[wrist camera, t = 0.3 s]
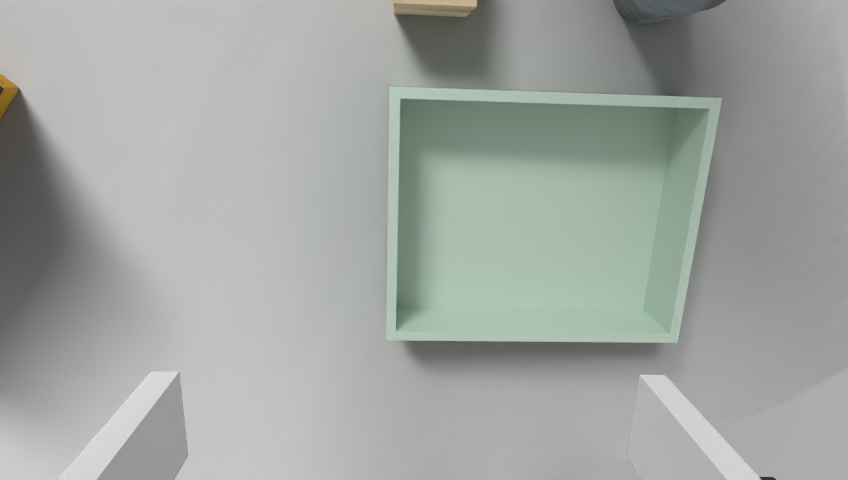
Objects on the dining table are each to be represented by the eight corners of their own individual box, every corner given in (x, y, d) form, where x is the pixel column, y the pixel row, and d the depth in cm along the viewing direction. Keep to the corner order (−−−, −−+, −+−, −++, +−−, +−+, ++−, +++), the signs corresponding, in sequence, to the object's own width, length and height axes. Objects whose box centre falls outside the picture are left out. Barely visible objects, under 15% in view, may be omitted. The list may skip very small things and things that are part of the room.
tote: (390, 86, 38) (389, 86, 33) (682, 96, 39) (722, 97, 34) (387, 311, 42) (385, 340, 38) (646, 314, 44) (677, 342, 39)
